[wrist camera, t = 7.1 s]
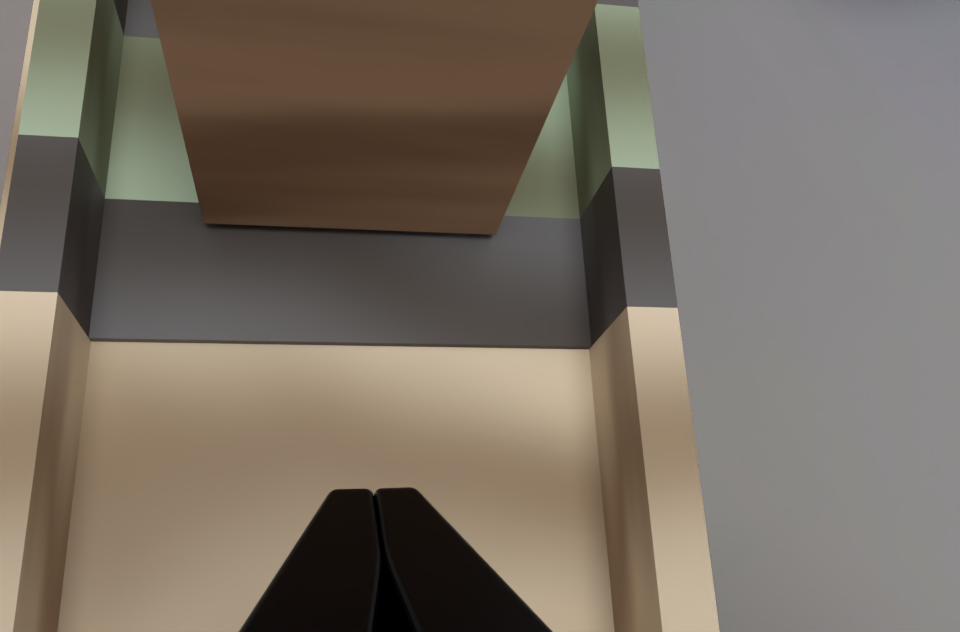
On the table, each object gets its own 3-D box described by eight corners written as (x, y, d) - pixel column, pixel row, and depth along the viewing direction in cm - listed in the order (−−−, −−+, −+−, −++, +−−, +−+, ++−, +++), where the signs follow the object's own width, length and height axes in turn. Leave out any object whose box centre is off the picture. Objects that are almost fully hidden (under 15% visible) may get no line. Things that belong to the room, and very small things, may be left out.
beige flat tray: (701, 698, 18) (786, 706, 15) (-65, 743, 15) (-163, 765, 12) (603, -109, 25) (647, -221, 22) (76, -167, 23) (38, -303, 20)
